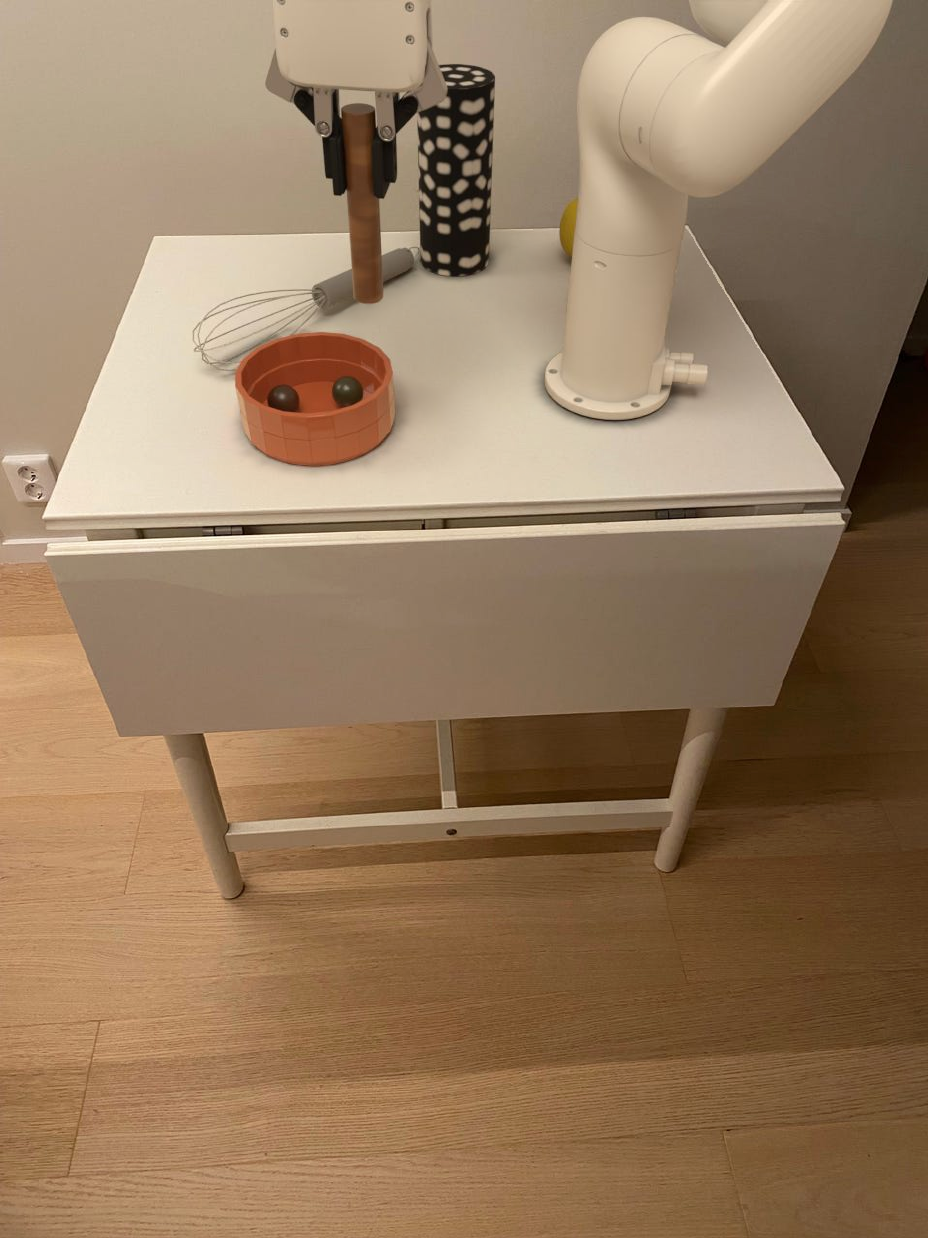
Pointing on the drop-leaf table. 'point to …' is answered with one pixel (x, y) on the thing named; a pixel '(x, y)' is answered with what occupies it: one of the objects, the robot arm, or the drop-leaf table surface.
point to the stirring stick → (362, 202)
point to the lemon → (568, 226)
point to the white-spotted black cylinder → (457, 173)
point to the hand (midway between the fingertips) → (362, 187)
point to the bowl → (316, 398)
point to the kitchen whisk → (315, 296)
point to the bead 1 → (283, 398)
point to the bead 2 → (347, 391)
